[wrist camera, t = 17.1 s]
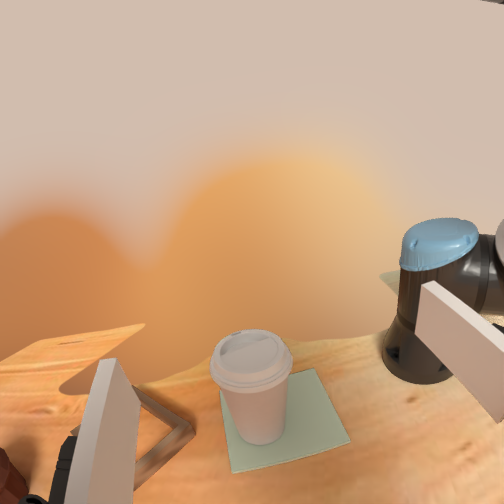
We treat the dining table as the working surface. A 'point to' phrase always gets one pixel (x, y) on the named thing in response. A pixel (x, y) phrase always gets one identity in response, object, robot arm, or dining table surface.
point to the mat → (290, 427)
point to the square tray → (163, 448)
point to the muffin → (10, 482)
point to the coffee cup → (254, 382)
